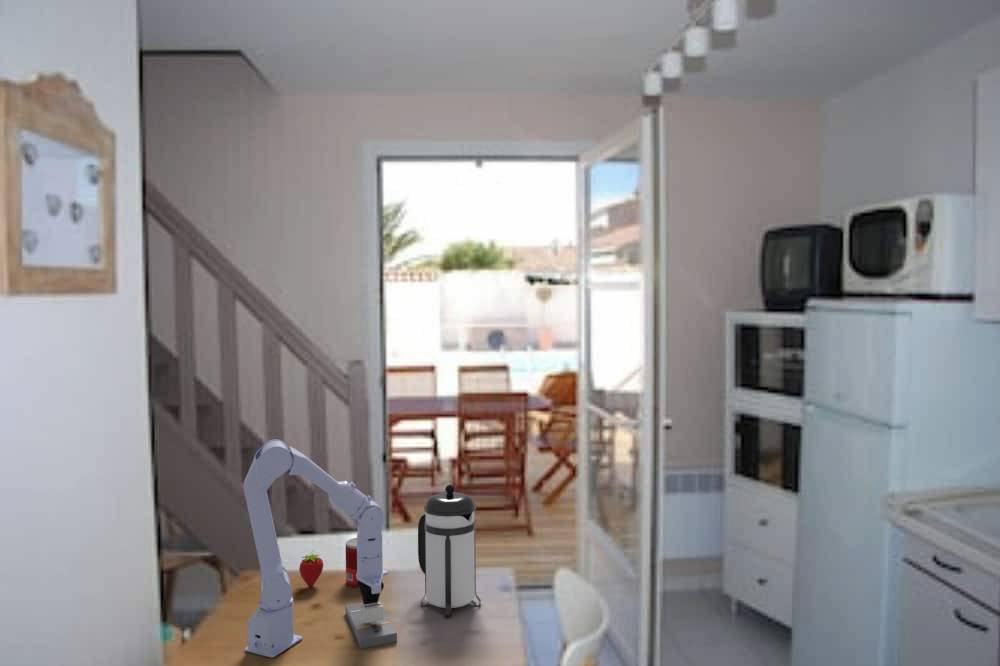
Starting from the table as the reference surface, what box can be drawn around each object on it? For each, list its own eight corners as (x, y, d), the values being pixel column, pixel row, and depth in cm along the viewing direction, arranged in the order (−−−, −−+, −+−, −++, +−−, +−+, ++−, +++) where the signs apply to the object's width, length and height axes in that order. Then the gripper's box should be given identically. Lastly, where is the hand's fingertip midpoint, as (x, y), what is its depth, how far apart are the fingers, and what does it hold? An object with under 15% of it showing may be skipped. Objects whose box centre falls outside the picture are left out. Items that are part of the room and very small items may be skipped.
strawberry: (327, 581, 183) (327, 545, 182) (316, 593, 175) (316, 554, 175) (306, 580, 183) (306, 544, 183) (295, 592, 176) (294, 554, 176)
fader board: (397, 641, 148) (396, 632, 148) (360, 648, 145) (360, 639, 145) (378, 607, 166) (378, 599, 166) (345, 613, 163) (345, 604, 163)
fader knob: (383, 624, 152) (383, 606, 152) (365, 627, 150) (365, 609, 150) (380, 619, 155) (380, 601, 155) (363, 622, 153) (362, 604, 153)
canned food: (372, 587, 178) (372, 546, 178) (342, 587, 179) (342, 546, 178) (378, 576, 186) (378, 537, 186) (349, 576, 186) (349, 537, 186)
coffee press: (484, 592, 175) (484, 477, 174) (476, 619, 159) (475, 493, 158) (419, 590, 177) (418, 475, 176) (404, 617, 161) (403, 491, 160)
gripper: (394, 562, 150) (395, 623, 150) (380, 542, 163) (380, 598, 163) (362, 567, 147) (363, 628, 147) (350, 546, 160) (351, 603, 161)
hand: (370, 613), depth 155 cm, fingers closed
